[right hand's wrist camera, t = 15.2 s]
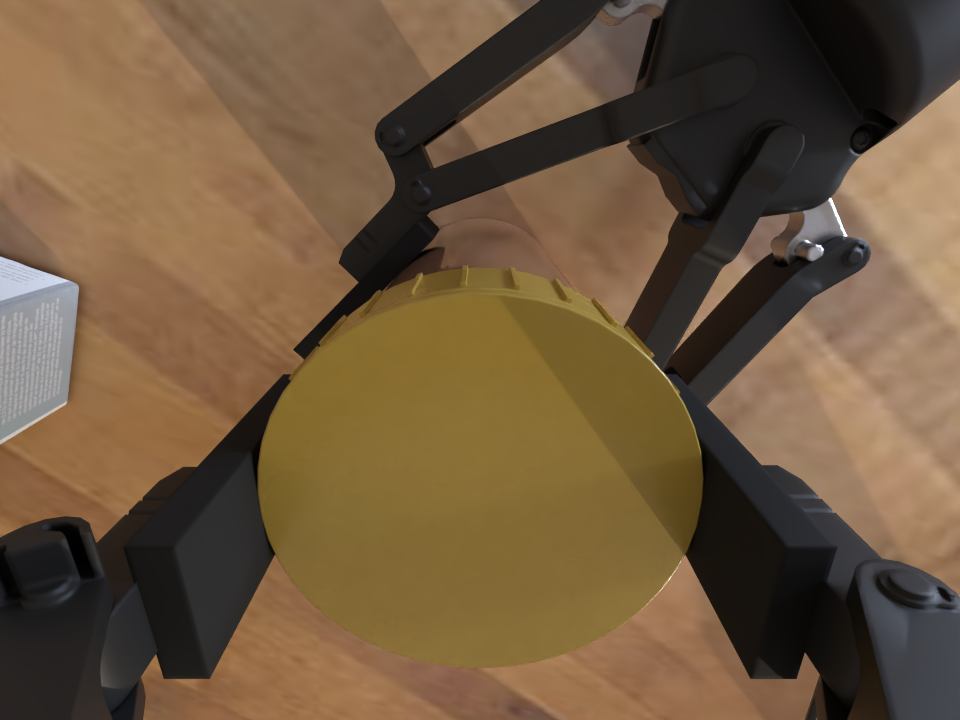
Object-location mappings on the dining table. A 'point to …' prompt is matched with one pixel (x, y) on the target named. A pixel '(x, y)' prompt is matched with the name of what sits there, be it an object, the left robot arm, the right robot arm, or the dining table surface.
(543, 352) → the lid
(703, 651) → the dining table surface
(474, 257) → the jar
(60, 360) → the hard drive box
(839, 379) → the dining table surface
